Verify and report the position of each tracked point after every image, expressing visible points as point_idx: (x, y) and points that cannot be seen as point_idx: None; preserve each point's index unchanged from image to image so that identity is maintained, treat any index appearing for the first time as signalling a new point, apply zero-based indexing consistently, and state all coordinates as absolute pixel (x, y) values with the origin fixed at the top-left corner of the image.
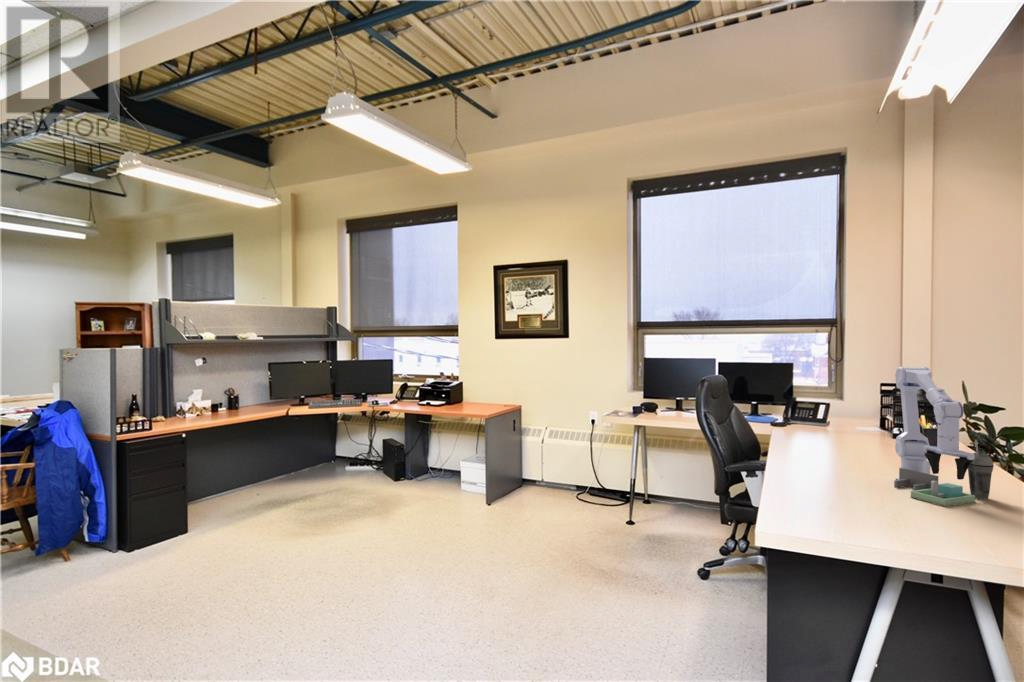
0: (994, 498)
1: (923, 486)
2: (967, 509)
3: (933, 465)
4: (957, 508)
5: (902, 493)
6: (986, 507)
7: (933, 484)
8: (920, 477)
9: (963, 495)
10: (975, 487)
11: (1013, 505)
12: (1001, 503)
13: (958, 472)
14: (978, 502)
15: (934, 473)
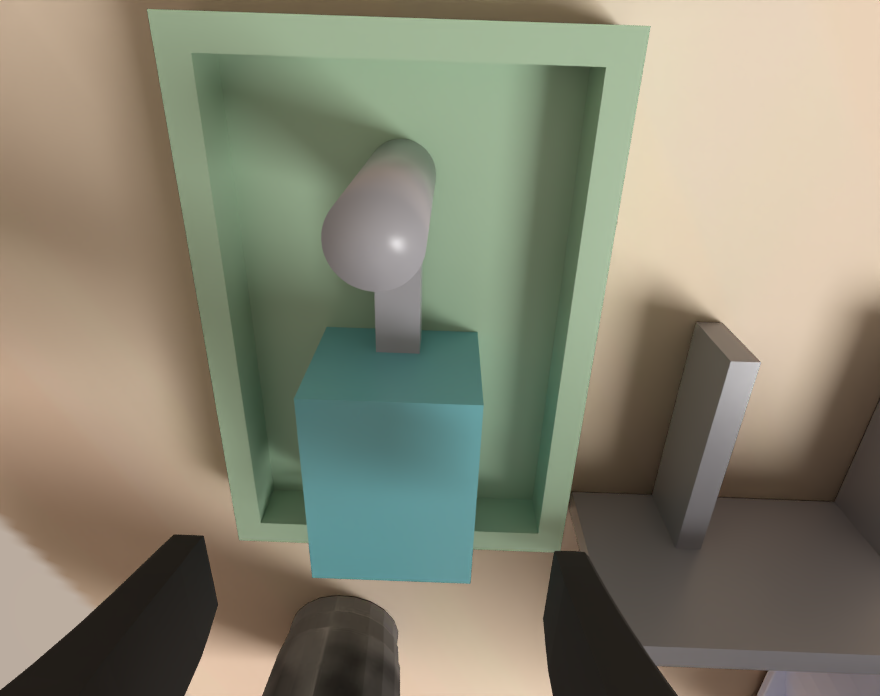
0: None
1: (684, 471)
2: (61, 170)
3: (598, 684)
4: (106, 96)
5: (772, 135)
6: (107, 420)
7: (371, 181)
8: (783, 594)
9: None
10: (316, 681)
11: None
12: None
13: (101, 622)
14: None
15: (558, 557)
